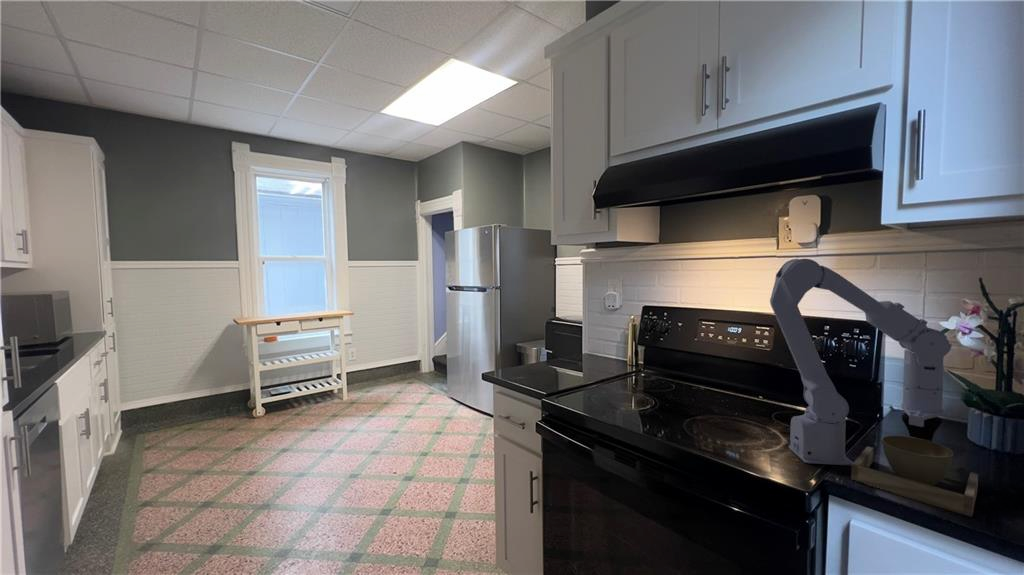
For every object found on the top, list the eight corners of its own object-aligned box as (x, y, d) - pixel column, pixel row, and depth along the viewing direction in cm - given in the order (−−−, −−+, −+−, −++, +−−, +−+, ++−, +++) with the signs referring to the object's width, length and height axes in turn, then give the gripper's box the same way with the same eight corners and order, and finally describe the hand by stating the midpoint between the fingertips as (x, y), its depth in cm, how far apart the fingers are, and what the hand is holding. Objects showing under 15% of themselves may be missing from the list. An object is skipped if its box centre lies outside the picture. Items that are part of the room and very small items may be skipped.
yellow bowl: (968, 497, 75) (969, 458, 75) (903, 492, 77) (904, 454, 77) (926, 470, 85) (927, 436, 85) (869, 466, 87) (870, 433, 87)
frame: (972, 517, 70) (972, 499, 69) (851, 480, 82) (851, 465, 82) (977, 489, 78) (978, 473, 78) (867, 459, 90) (867, 446, 90)
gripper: (946, 398, 77) (944, 470, 77) (955, 382, 86) (953, 447, 86) (895, 390, 82) (893, 457, 83) (908, 376, 91) (906, 437, 92)
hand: (920, 451), depth 85 cm, fingers closed
